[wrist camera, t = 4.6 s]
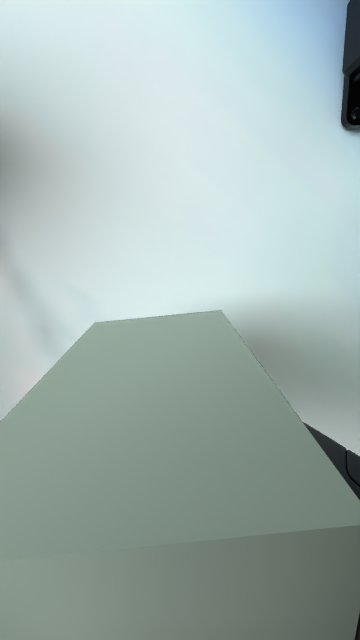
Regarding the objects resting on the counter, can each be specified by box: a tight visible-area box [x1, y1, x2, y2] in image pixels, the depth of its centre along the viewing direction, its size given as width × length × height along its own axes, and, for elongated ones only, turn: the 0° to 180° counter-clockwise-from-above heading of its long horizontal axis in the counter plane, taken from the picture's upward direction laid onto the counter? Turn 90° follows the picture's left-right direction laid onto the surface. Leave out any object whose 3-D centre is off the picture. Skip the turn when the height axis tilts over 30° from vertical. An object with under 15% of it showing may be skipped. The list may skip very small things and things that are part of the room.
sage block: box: [0, 310, 360, 640], centre depth 7 cm, size 5×5×8 cm
